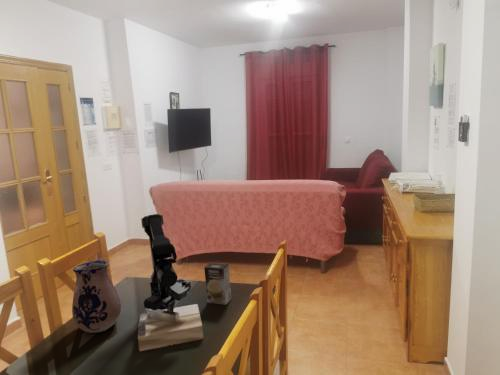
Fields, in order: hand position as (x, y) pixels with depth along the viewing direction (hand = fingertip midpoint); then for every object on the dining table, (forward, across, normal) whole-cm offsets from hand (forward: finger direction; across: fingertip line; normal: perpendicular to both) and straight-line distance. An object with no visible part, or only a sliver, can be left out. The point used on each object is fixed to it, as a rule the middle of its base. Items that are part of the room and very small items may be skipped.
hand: (171, 314), depth 142 cm
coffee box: (+8, +27, 0) cm, 28 cm away
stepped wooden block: (+6, -4, -3) cm, 8 cm away
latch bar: (+1, -3, +2) cm, 4 cm away
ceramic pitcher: (+6, -10, +30) cm, 32 cm away
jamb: (+6, +2, +4) cm, 8 cm away
